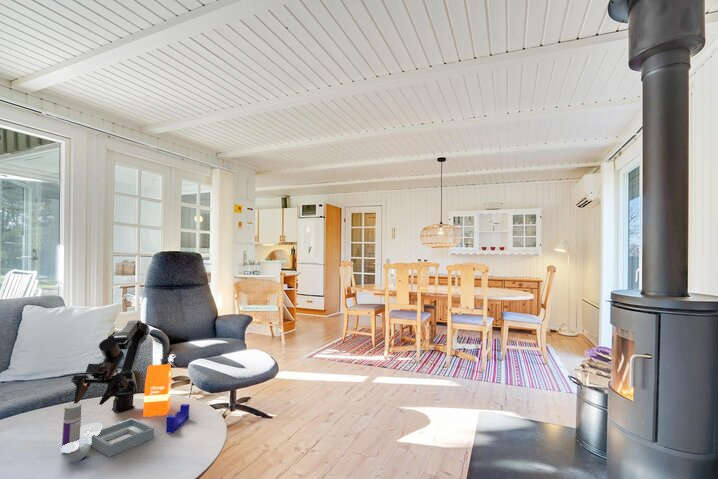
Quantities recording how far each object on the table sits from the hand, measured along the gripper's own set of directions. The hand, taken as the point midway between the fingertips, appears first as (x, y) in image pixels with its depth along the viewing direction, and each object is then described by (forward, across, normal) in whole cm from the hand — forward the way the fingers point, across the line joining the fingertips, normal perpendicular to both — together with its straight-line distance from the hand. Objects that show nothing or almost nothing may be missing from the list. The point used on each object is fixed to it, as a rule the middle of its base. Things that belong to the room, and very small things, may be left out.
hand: (87, 404), depth 130 cm
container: (+14, 0, +5) cm, 15 cm away
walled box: (+9, +13, +9) cm, 18 cm away
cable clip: (0, +26, +19) cm, 32 cm away
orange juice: (-8, +12, +26) cm, 30 cm away
